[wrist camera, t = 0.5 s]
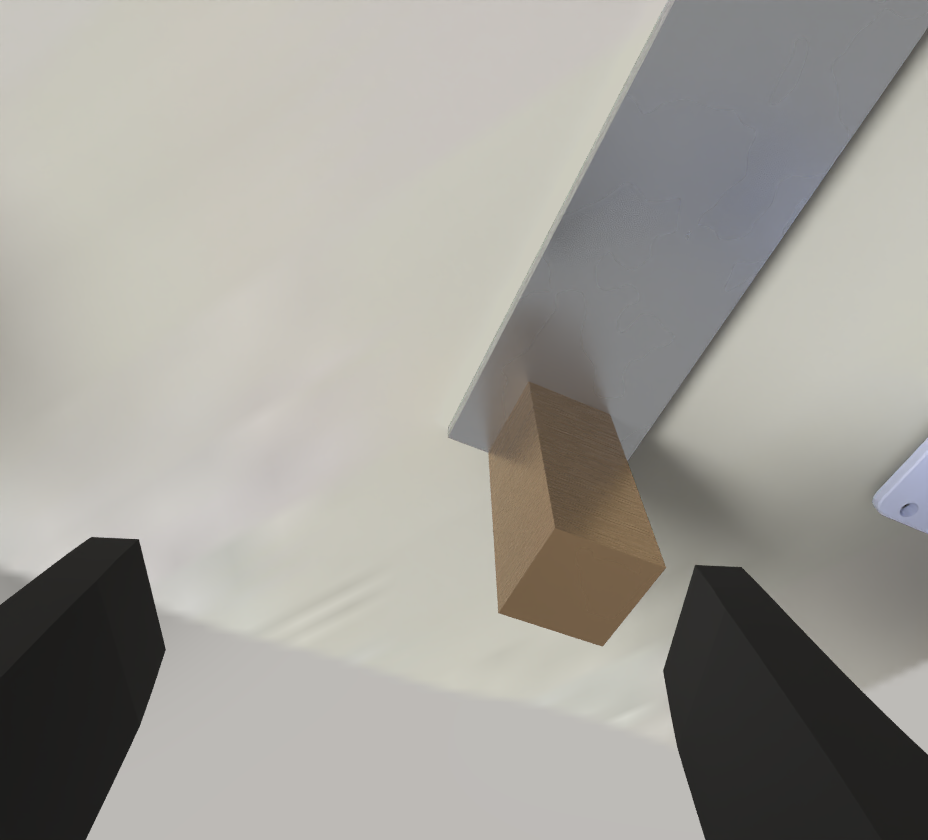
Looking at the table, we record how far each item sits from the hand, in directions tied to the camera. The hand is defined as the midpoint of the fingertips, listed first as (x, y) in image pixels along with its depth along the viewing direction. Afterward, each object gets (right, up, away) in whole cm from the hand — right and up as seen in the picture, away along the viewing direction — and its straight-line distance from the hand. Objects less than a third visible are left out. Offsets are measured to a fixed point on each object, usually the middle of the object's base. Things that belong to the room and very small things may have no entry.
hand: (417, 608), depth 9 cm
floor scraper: (+6, +8, +7) cm, 12 cm away
